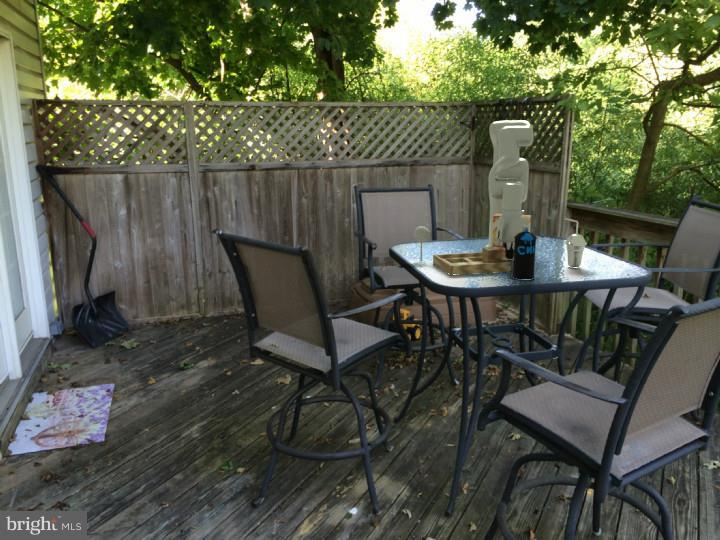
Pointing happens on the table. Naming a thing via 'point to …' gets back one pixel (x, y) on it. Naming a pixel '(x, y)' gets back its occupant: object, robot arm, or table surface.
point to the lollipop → (421, 235)
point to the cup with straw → (575, 247)
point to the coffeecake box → (495, 224)
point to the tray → (468, 264)
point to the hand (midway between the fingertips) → (509, 258)
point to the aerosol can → (524, 254)
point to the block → (491, 255)
